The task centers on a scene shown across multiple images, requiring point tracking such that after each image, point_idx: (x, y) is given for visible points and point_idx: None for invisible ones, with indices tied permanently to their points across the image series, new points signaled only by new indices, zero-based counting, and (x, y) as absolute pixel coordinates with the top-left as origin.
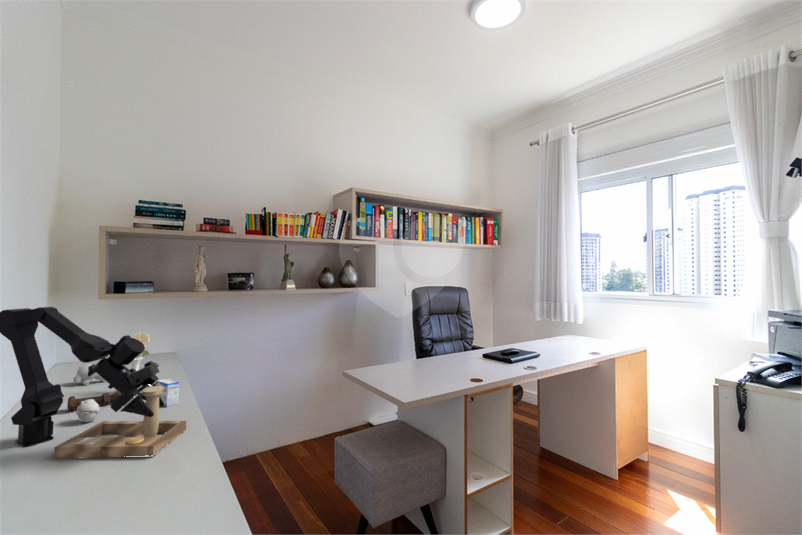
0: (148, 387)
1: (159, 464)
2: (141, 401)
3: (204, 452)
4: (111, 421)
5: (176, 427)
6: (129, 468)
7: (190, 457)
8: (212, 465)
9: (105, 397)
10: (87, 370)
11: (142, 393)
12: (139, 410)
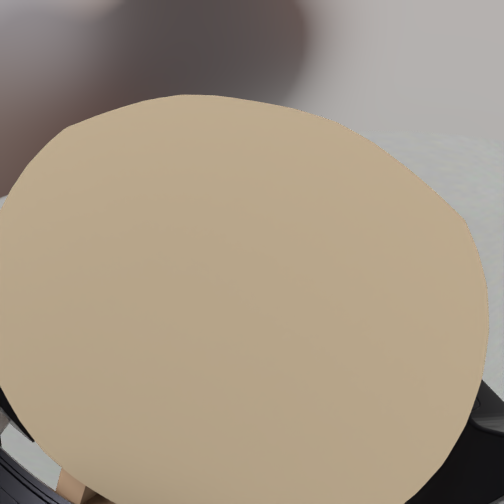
0: (10, 397)
1: (492, 268)
2: (498, 414)
3: (441, 147)
4: (61, 481)
5: None
6: (490, 355)
7: (466, 184)
8: (500, 147)
9: None
10: None
11: (2, 418)
12: None
